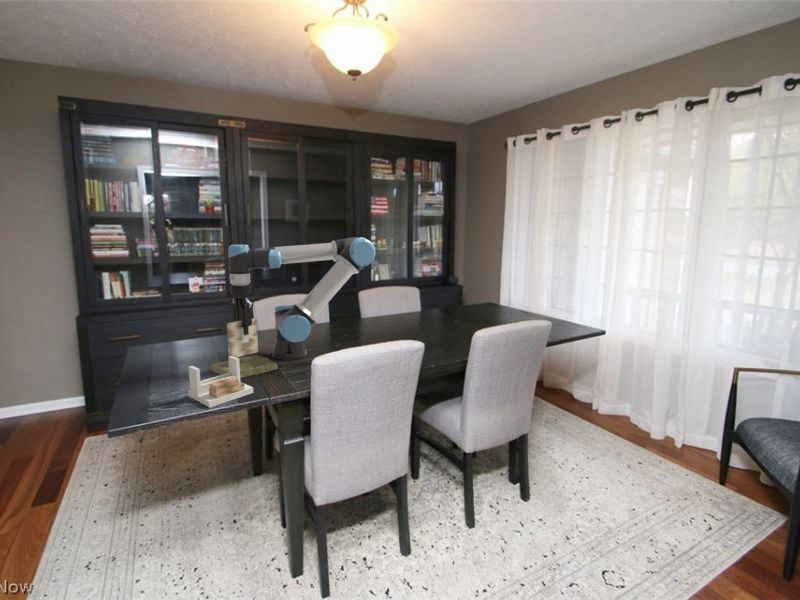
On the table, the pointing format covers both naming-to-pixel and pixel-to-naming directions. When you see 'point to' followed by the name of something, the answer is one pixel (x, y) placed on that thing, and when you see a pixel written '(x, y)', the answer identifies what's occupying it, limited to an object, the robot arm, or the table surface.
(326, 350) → the table surface
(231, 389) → the offcut lower
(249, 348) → the birch board
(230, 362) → the board rack
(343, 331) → the table surface
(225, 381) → the offcut upper
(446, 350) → the table surface
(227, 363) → the decorative tile
